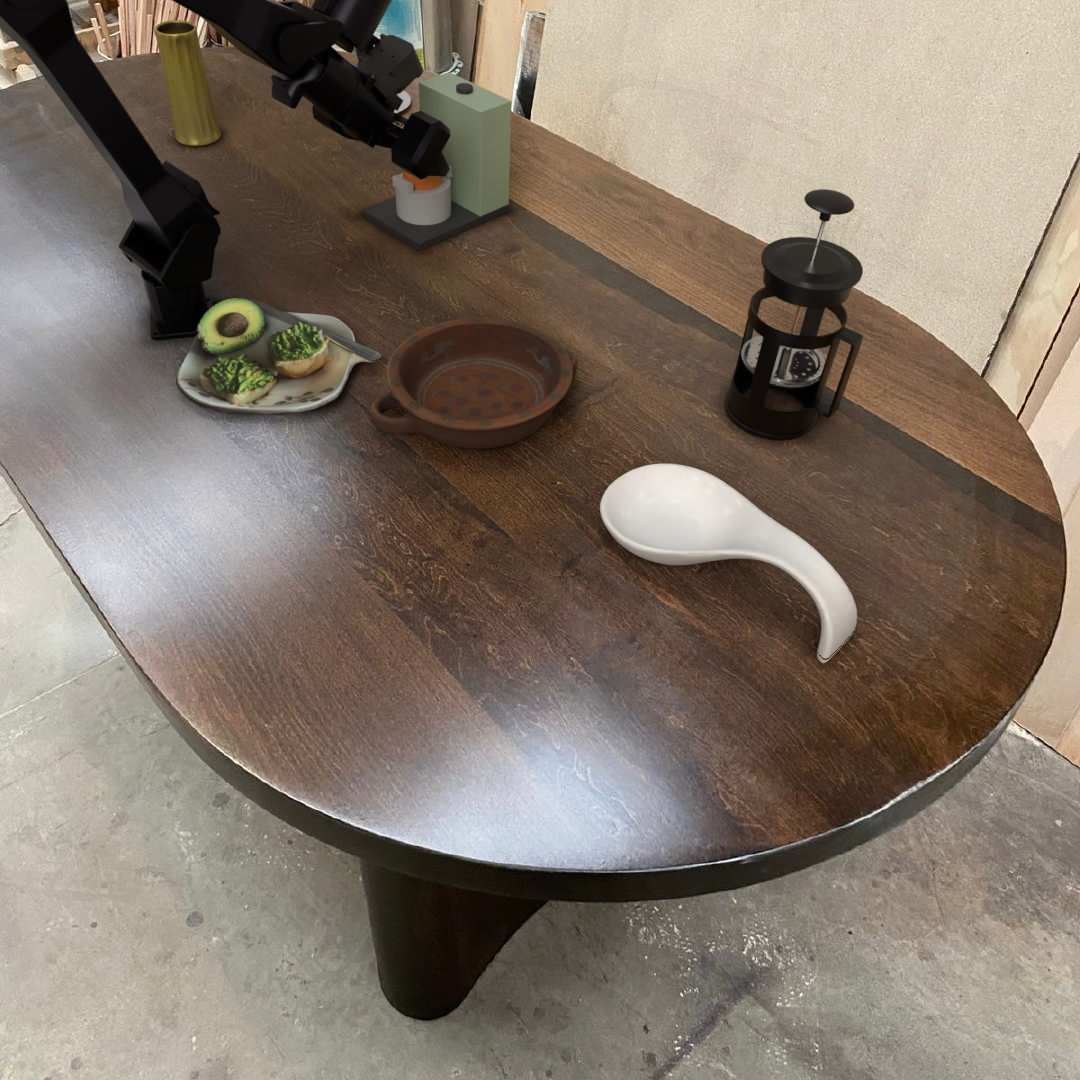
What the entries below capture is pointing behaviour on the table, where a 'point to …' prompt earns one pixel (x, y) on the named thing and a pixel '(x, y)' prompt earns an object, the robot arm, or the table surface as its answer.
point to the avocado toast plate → (268, 359)
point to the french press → (794, 360)
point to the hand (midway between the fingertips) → (421, 158)
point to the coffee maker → (454, 167)
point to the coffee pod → (423, 181)
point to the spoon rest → (720, 536)
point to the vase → (187, 83)
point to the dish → (475, 382)
